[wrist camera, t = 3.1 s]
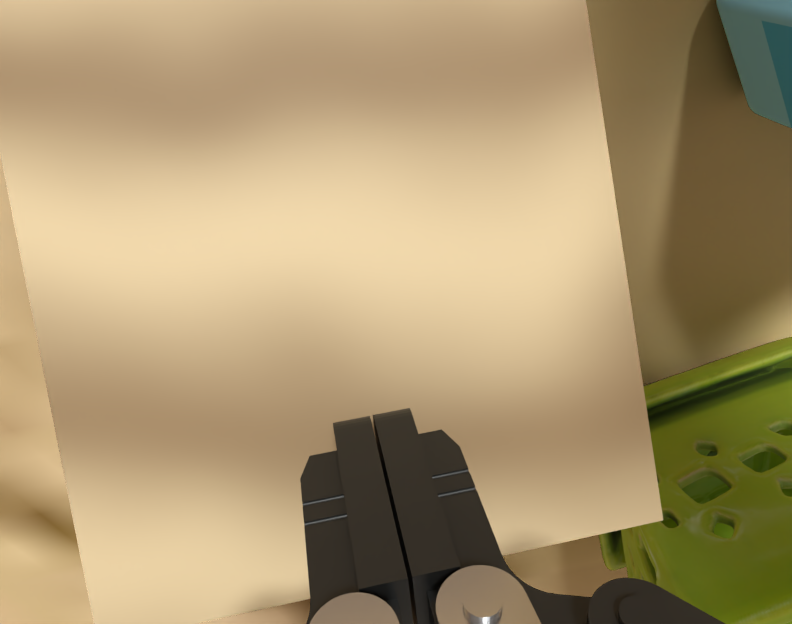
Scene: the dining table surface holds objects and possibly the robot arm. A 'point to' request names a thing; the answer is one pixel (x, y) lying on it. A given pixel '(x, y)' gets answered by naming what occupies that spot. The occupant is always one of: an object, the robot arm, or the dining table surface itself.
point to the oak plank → (315, 273)
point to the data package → (762, 53)
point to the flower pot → (720, 489)
